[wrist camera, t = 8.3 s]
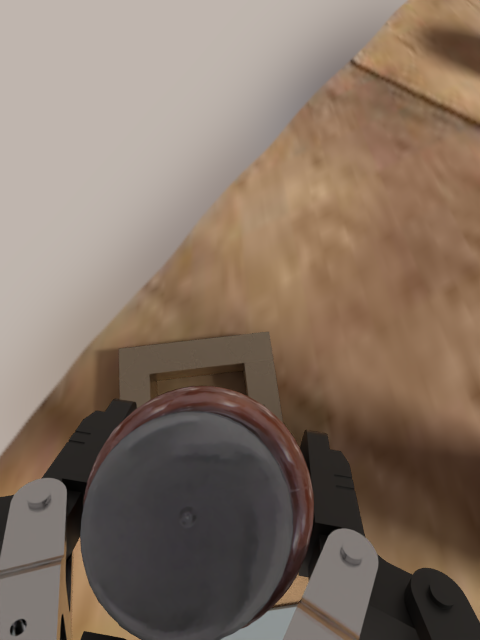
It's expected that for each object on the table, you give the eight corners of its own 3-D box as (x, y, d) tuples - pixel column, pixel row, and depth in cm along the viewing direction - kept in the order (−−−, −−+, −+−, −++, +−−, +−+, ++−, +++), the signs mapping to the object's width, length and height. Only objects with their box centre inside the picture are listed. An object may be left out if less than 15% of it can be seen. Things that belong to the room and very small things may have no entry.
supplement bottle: (138, 432, 18) (5, 402, 8) (256, 397, 19) (286, 323, 8) (166, 571, 16) (40, 790, 6) (296, 526, 17) (403, 647, 6)
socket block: (265, 341, 33) (268, 331, 31) (288, 489, 29) (294, 493, 27) (128, 357, 33) (118, 348, 30) (132, 510, 29) (122, 516, 26)
